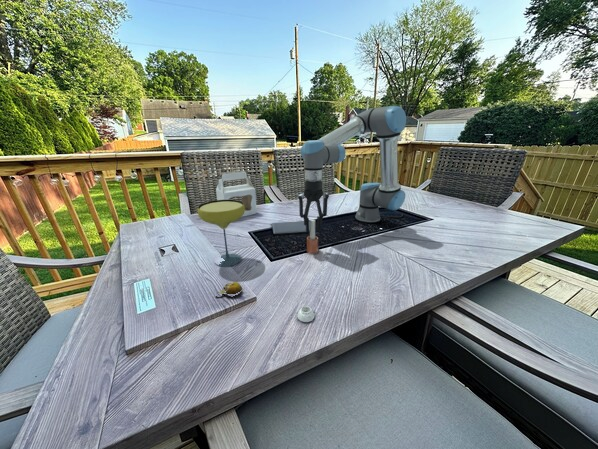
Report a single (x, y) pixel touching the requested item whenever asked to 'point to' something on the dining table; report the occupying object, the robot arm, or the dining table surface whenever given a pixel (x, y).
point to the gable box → (238, 191)
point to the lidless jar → (305, 314)
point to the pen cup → (312, 245)
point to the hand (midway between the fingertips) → (312, 231)
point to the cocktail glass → (222, 221)
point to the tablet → (289, 228)
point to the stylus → (312, 229)
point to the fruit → (231, 289)
